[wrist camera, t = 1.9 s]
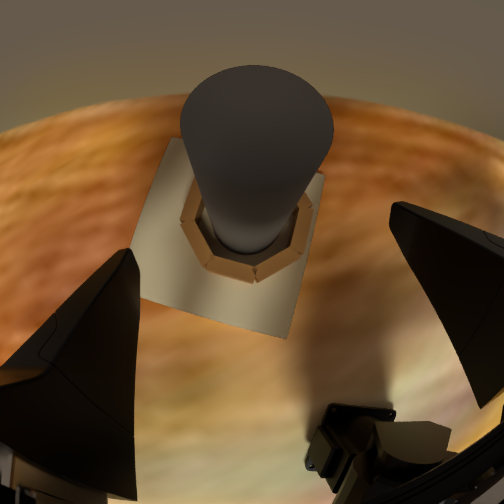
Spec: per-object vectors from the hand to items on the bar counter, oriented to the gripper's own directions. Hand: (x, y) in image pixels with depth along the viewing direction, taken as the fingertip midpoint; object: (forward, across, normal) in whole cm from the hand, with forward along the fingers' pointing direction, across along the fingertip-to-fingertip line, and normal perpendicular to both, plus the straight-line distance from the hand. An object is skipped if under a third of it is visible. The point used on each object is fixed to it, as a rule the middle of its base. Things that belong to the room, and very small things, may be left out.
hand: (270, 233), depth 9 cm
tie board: (+11, +2, +6) cm, 13 cm away
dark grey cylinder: (+11, 0, +6) cm, 12 cm away
